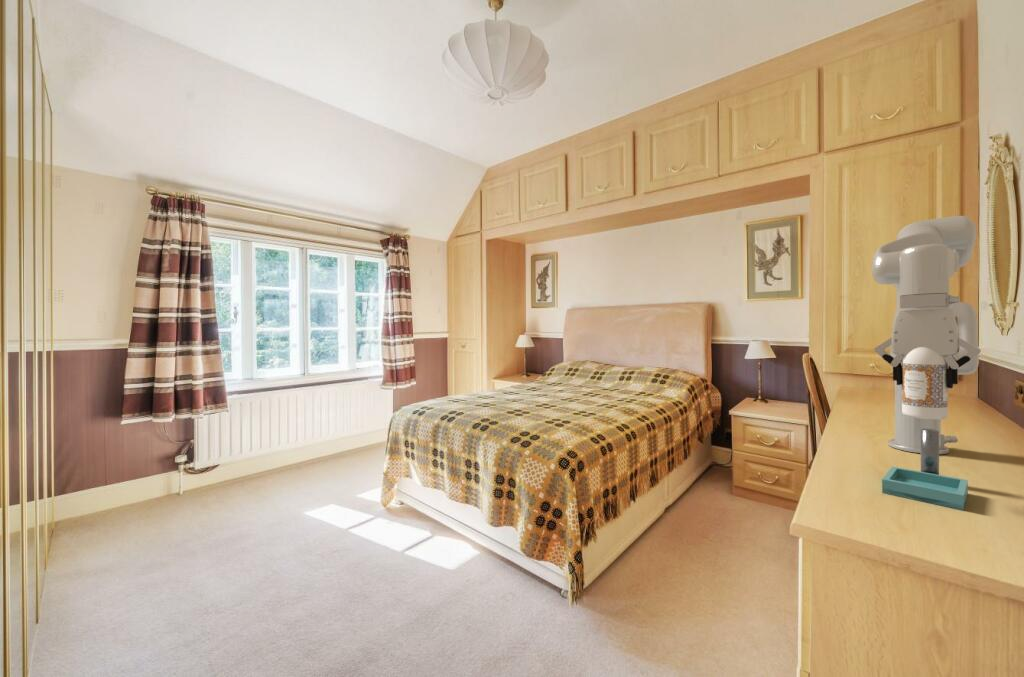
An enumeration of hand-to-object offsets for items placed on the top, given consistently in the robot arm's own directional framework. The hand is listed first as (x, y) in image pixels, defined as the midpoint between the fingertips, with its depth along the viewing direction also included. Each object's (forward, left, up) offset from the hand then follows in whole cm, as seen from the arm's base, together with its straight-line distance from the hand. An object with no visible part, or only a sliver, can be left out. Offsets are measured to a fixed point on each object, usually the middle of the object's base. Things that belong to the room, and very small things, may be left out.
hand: (924, 385), depth 88 cm
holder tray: (0, 0, -24) cm, 24 cm away
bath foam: (0, 0, -7) cm, 7 cm away
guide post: (-7, -6, -24) cm, 25 cm away
